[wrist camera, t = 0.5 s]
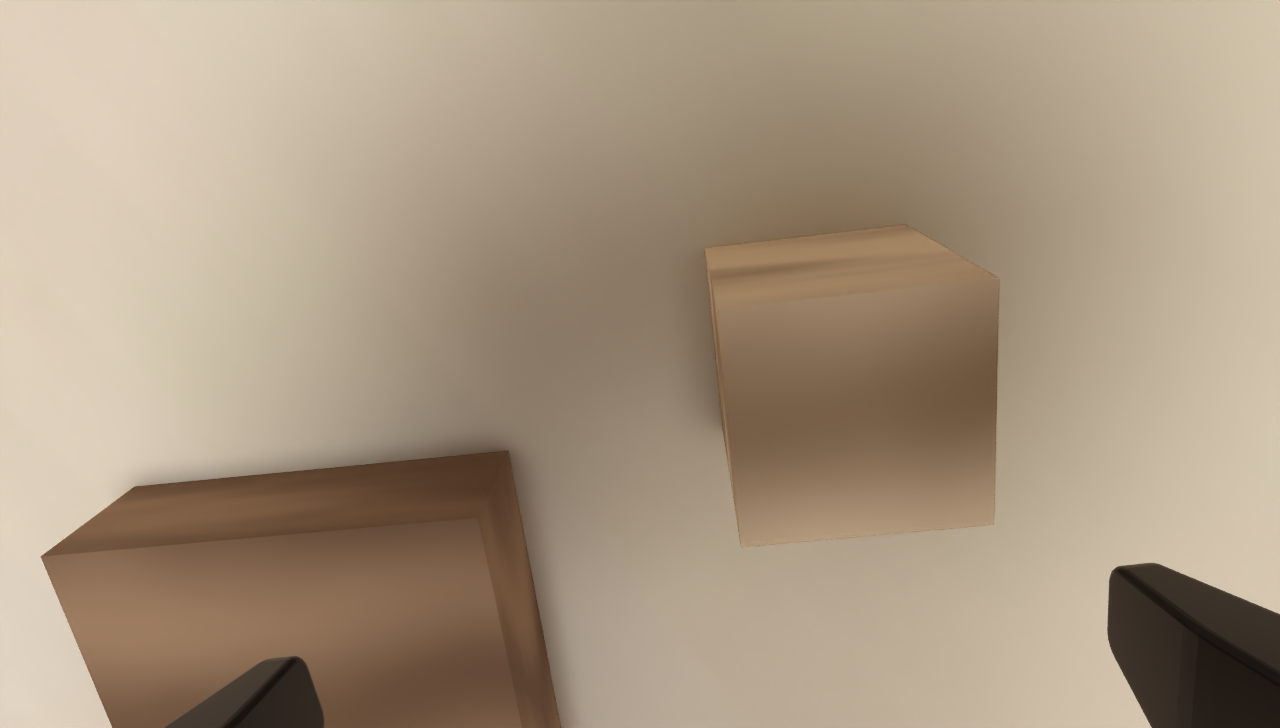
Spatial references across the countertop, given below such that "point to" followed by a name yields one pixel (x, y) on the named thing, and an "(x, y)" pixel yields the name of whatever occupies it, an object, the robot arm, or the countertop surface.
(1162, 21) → the countertop surface
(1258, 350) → the countertop surface
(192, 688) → the walnut block
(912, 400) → the maple block
